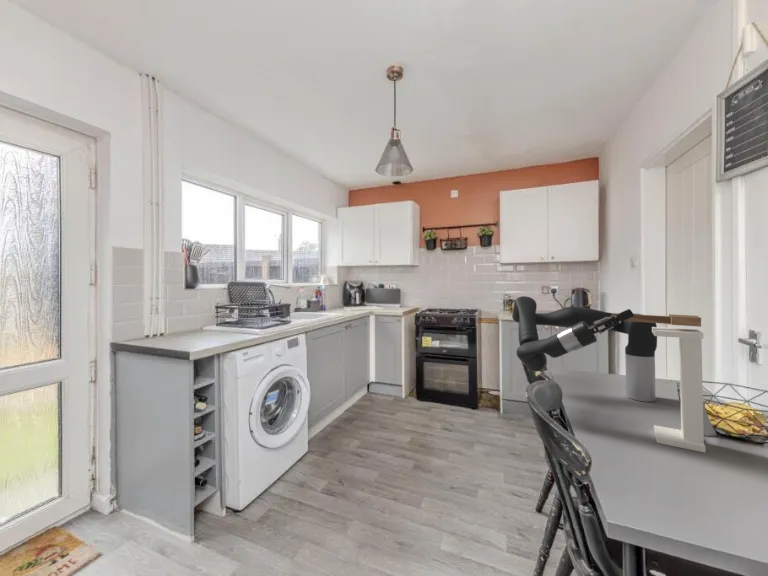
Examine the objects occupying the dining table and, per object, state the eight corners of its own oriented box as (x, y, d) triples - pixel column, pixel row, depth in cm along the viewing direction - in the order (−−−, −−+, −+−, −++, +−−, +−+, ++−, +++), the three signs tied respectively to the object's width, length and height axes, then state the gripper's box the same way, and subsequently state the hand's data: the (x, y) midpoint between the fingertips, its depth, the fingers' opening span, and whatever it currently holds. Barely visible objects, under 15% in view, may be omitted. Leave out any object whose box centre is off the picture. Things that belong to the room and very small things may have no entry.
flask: (723, 437, 95) (722, 403, 95) (693, 436, 96) (693, 402, 96) (704, 427, 102) (703, 395, 102) (677, 425, 104) (676, 394, 104)
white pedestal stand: (654, 429, 101) (651, 326, 101) (698, 438, 95) (696, 328, 95) (657, 442, 93) (654, 330, 93) (705, 452, 87) (703, 333, 87)
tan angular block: (611, 318, 106) (611, 311, 106) (696, 323, 94) (696, 315, 94) (611, 320, 100) (611, 313, 100) (701, 326, 88) (701, 317, 88)
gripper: (584, 343, 113) (639, 320, 104) (581, 350, 102) (641, 325, 93) (572, 324, 115) (624, 300, 106) (566, 329, 104) (624, 302, 95)
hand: (631, 312), depth 100 cm, fingers closed on tan angular block, 2 cm apart
